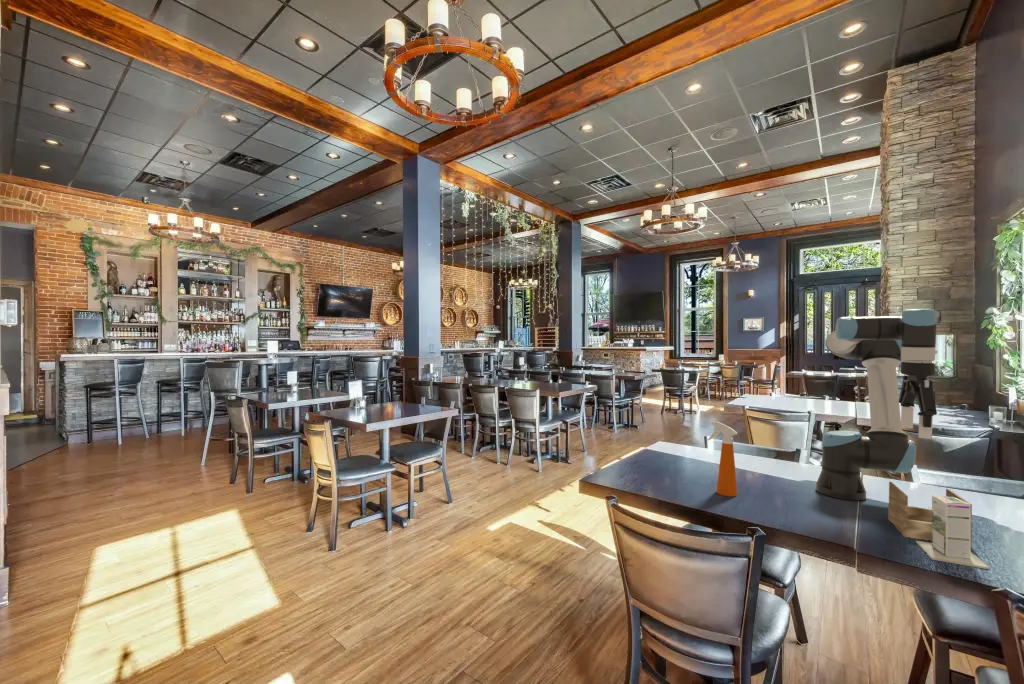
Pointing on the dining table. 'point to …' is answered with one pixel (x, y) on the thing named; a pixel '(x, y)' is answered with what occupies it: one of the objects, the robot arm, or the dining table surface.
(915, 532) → the wooden holder
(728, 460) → the spray bottle
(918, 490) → the dining table surface
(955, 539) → the syrup box
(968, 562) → the mat
